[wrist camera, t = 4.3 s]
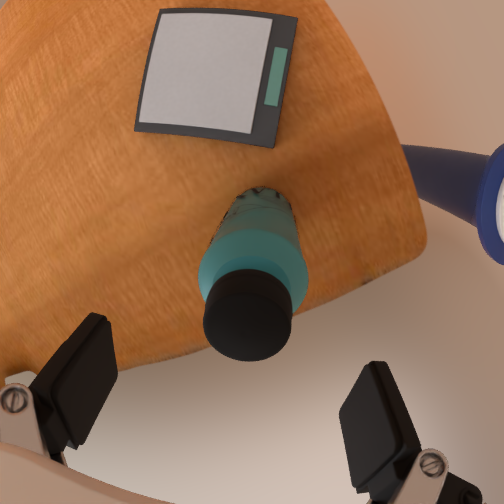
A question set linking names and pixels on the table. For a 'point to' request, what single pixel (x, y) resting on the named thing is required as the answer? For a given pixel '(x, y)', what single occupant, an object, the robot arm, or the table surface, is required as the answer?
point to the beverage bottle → (253, 277)
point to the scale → (216, 74)
